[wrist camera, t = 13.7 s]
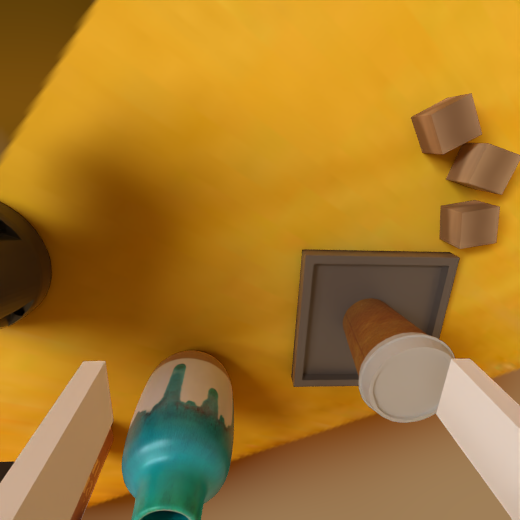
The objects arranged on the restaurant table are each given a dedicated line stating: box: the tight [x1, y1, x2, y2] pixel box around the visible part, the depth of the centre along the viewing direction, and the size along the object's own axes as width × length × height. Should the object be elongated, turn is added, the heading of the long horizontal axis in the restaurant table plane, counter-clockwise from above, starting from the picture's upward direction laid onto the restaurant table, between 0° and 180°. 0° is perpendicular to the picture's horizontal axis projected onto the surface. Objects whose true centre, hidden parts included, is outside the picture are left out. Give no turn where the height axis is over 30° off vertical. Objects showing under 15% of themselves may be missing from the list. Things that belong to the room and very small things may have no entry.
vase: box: [122, 350, 234, 520], centre depth 35 cm, size 11×11×19 cm
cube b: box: [446, 143, 520, 195], centre depth 36 cm, size 4×4×4 cm
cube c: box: [411, 93, 482, 154], centre depth 34 cm, size 4×4×4 cm
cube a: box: [440, 200, 500, 249], centre depth 38 cm, size 4×4×4 cm
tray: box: [291, 250, 459, 387], centre depth 42 cm, size 18×18×2 cm
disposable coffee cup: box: [343, 298, 455, 423], centre depth 37 cm, size 10×10×12 cm
